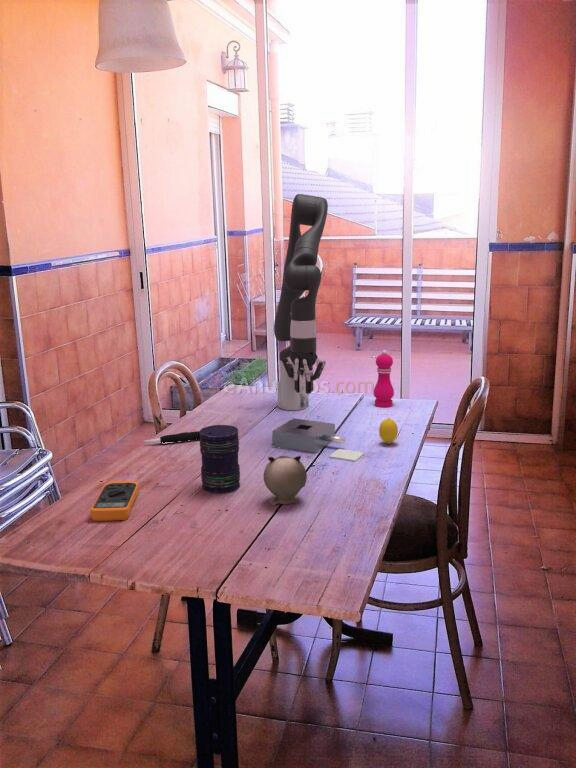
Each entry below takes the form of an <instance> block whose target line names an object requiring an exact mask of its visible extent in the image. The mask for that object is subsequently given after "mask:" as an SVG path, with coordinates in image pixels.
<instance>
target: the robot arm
mask: <svg viewBox="0 0 576 768" xmlns="http://www.w3.org/2000/svg"><path fill="white" fill-rule="evenodd" d="M328 203H329V202H328V200H327V199H326V198H324V197H322V196H316V195H310V194H303V193H297V194H296V195H295V196H294V198H293V201H292V205H291V213H290V223H289V224H290V225H289V234H288V235H289V236H288V243H287V244H288V245H287V251H286V254H285V255H286V256H285V261H284V266H283V275H282V284H281V289H280V296H279V301H278V305H277V309H276V314H275V317H274V323H273V333H274V338H275V339H276V340H277V341H279V342H290V344H289V346H287V347H286V348H283V349H282V350H281V351H280V352H279V354H278V355H279V356H278V358H279V361H278V362H279V363H278V364H279V365H278V366H279V380H277V407H279V408H280V409H282V410H286V411H300V410H304V409H305V408H301V407H299V374H297V370H299V368H304V370H305V374H306V377H307V382H306V393H307V394H309V395H310V394H312V392H313V391H314V381H316V380H317V379H320V378H321V375H322V373H323V371H324V369H325V365H326V364H327V363H326V360H321V359H320V358H318V355H317V334H318V332H317V323H316V304H317V303H316V302H317V298H318V297H317V296H318V293H319V289H320V286H321V281H322V271H321V269H320V268H319V267H318V266H317V264H318V263H317V262H318V255H319V248H320V247H319V246H320V243H321V240H322V239H321V238H322V236H323V233H324V229H325V225H326V221H327V216H328V208H329V206H328V205H329V204H328ZM301 225H302V226H308V227H310V228H309V229H307V230H306V231H305V232H304V233H302V231H301ZM306 291H308V293H307V295H306V296H303V297H301V296H302V295H303V294H304V293H305V292H306ZM314 365H315V366H316V369H315V370H314Z"/></svg>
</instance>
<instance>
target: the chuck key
mask: <svg viewBox="0 0 576 768" xmlns="http://www.w3.org/2000/svg"><path fill="white" fill-rule="evenodd" d="M297 374H299V407H301V408H304V409H307V408H309V405H310V404H309V403H310V399H309V398H310V397H309V395H310V394H307V393H306V382H307V377H306V374H305V370H304V368H299V370H297Z"/></svg>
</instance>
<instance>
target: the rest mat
mask: <svg viewBox="0 0 576 768" xmlns="http://www.w3.org/2000/svg"><path fill="white" fill-rule="evenodd" d="M365 454H366V453H365V452H362V451H355V450H351V449H350V450H349V449H348V450H347V449H343V448H338V449H337V450H336V451H334V452H332V453H331V454H330V455H329V456H328V457H329V458H331V459H335V460H336V459H337V460H341V461H349V462H357V461H358V460H359V459H361V457H363V456H364V455H365Z"/></svg>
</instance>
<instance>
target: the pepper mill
mask: <svg viewBox="0 0 576 768" xmlns="http://www.w3.org/2000/svg"><path fill="white" fill-rule="evenodd" d="M375 364H376V366H377V368H376V370H377V371H376V372H377V373H378V375H377V381H376V384H375V386H374V388H373V396H374V398H375V399H374V405H375V406H376V407H378V408H390V407H392V406H393V399H392V398H394V396H395V389H394V387H393V385H392V381H391V372H392V366H393V364H394V359H393V357H392V356H391V355H390V354H388V351H387V350H386V349H383V350H382V351H381V354H380V355H378V356H377V357H376V359H375Z"/></svg>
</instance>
